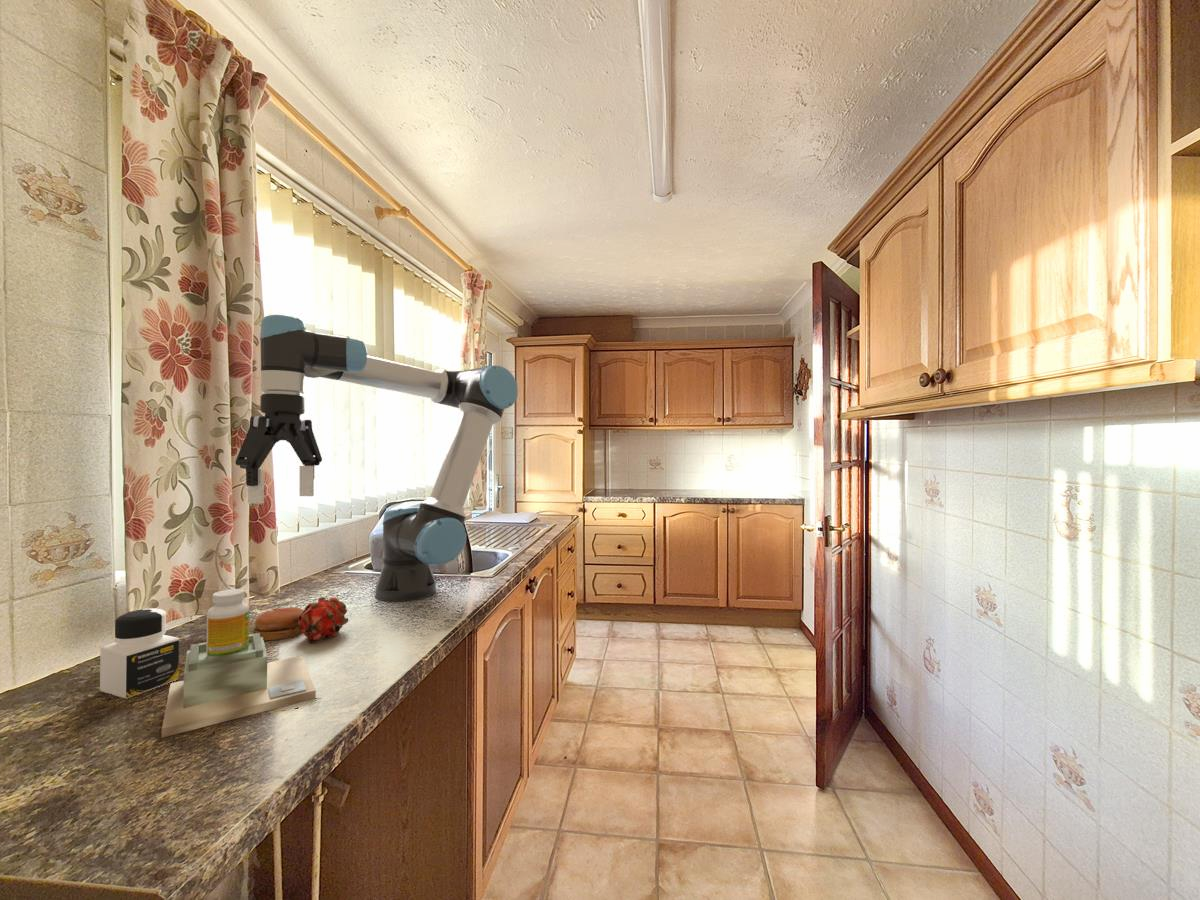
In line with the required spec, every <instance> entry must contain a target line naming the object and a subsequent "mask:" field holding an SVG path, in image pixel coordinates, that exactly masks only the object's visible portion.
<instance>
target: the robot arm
mask: <svg viewBox="0 0 1200 900" xmlns="http://www.w3.org/2000/svg"><path fill="white" fill-rule="evenodd" d="M260 323H261V324H260V337H259V344H260V346H259V347H260V391H261V392H263V394H261V395H260V399H259V400H260V412H261V413H263V414H264V415H263V416H262V415H260V416H259V415H257V416H256V415H253V416H250V419H249V426H248V427H249V428H248V430H247V433H246V435H245V437H244V440H243V442H242V445H241V448H240V449H239V452H238V455H237V457H236V458H235V462H234V463H235V465H236V466H239V468H240V469H243V470H244V469H245V484H246V486H247V504H255V505H256V504H257V505H259V504H265V468H261V466H262V465H263V463H264V462H265V460H266V459H267V457H268V456H269V455H270V452H271V450H272V449H273V448H274V446H275V444H276V443H279V442H280V441H286V443H289V444H290V446H291V448H292V450H293V451H294V453H295V454H296V456H297V457H298V459H299V460H300V463H302V465H299V497H314V490H315V489H314V488H315V487H314V486H315V485H314V481H315V466H319V465H320V463H322V462H323V458H322V454H321V452H320V449H319V446H318V442H317V440H316V437H315V433H314V431H313V422H312V420H311V419H301V415H303V414H304V413H305V412H306V411H305V408H306V407H305V404H306V402H305V401H306V400H305V398H306V397H304V396H303V395H304V394H305V392H306V378H312V379H315V378H324V379H329V380H335V381H340V382H346V383H351V384H357V385H362V386H367V387H372V388H376V389H377V388H378V389H382V390H388V391H392V392H397V393H402V394H407V395H412V396H416V397H417V396H418V397H423V398H427V399H430V400H431V402H433V403H435V404H438V405H439V404H440V405H444V406H449V407H452V408H457V409H459V410H460V413H461V414H460V417H459V420H458V422H457V426H456V428H455V430H454V433H453V435H452V439H451V441H450V443H449V446H448V449H447V451H446V455H445V457H444V459H443V462H442V465H441V466H440V467H441V468H440V470H439V472H438V475H437V478H436V480H435V483H434V486H433V488H432V491H431V493H430V496H429V498H427V499H424V500H423V501H421V503H420V505H419V506H413V507H405V508H391V509H390V508H389V509H387V510H386V511H385V512H384V514H383V521H382V526H383V527H382V535H383V536H382V539H383V540H382V568H381V571H380V574H379V576H378V580H377V582H376V585H375V589H374V590H375V594H374V596H375V598H376V599H378V600H381V601H387V602H406V601H414V600H418V599H419V600H420V599H425V598H427V597H430V596H432V595H433V594H435V593H436V591H437V590H436V589H437V584H436V579H435V576H434V573H433V570H432V568H431V565H437V566H440V565H441V566H442V565H446V564H448V563H450V562H452V561H455V559H457V558H458V557H459V555H460V554H462V552H463V550H464V548H465V546H466V543H467V532H466V528H465V526H464V523H465V520H466V517H467V516H466V514H465V512H464V505H465V502H466V500H467V497H468V494H469V491H470V489H471V486H472V483H473V480H474V478H475V474H476V473H477V470H478V467H479V463H480V461H481V459H482V456H483V453H484V450H485V447H486V444H487V442H488V439H489V436H490V434H491V430H492V428H493V425H495V424H497V423H500V422H501V419H502V417H503V414H504V411H505V410H506V409H509V408H510V407H512V406H513V405H514V404H515V402H516V401H517V399H518V394H519V390H518V389H519V388H518V383H517V382H516V377H514V375H513V373H512V372H510V370H509V369H508V368H506V367H504V366H501V365H491V364H489V365H484V366H483V367H476V368H471V369H464V370H447V369H442V368H439V369H437V370H435V371H434V370H430V369H426V368H423V367H418V366H415V365H410V364H404V363H401V362H397V361H392V360H388V359H384V358H380V357H375V356H371V355H368V350H367V346H366V344H365V341H363V340H362V339H358V338H353V337H350V336H341V335H334V334H328V333H321V332H316V331H310V330H307V329H306V326H305V325H306V324H305V321H304V320H303V319H301V318H299V317H294V316H292V315H284V314H268V315H266V316H264V317H263V318H261V322H260Z"/></svg>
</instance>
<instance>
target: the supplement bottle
mask: <svg viewBox="0 0 1200 900" xmlns="http://www.w3.org/2000/svg"><path fill="white" fill-rule="evenodd" d="M244 600H245V590H244V589H242V588H241V589H240V588H229V589H225V590H220V591H216V592H214V593H213V594H212V604H213V605H214V606H211V607H210V608H209V609H208V611H206V612H207V613H206V641H205V642H206V656H207V658H214V657H219V656H224V655H229V654H234V653H239V652H244V651H247V650H248V649H249V635H250V606H249V604H248V603H246V602H243V601H244Z"/></svg>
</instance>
